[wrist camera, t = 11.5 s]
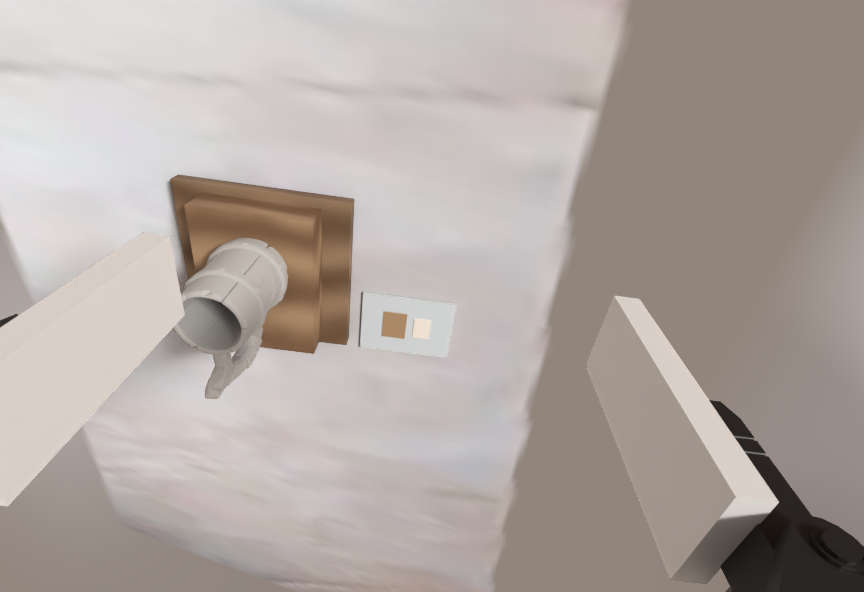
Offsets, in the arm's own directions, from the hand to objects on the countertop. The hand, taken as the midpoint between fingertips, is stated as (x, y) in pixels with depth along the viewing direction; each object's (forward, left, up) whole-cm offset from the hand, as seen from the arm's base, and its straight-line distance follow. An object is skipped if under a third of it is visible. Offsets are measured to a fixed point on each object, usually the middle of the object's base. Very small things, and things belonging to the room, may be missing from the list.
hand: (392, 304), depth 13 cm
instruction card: (+24, 0, -33) cm, 41 cm away
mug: (+18, -16, -28) cm, 37 cm away
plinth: (+18, -16, -33) cm, 41 cm away
